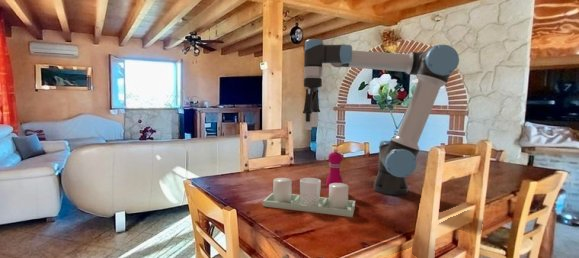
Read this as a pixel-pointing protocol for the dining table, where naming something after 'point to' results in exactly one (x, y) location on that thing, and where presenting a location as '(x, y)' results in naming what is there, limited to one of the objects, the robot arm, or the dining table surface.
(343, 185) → the white round cylinder
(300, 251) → the dining table surface
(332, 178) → the pepper mill
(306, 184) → the white cup
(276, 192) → the white capsule
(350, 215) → the caddy
